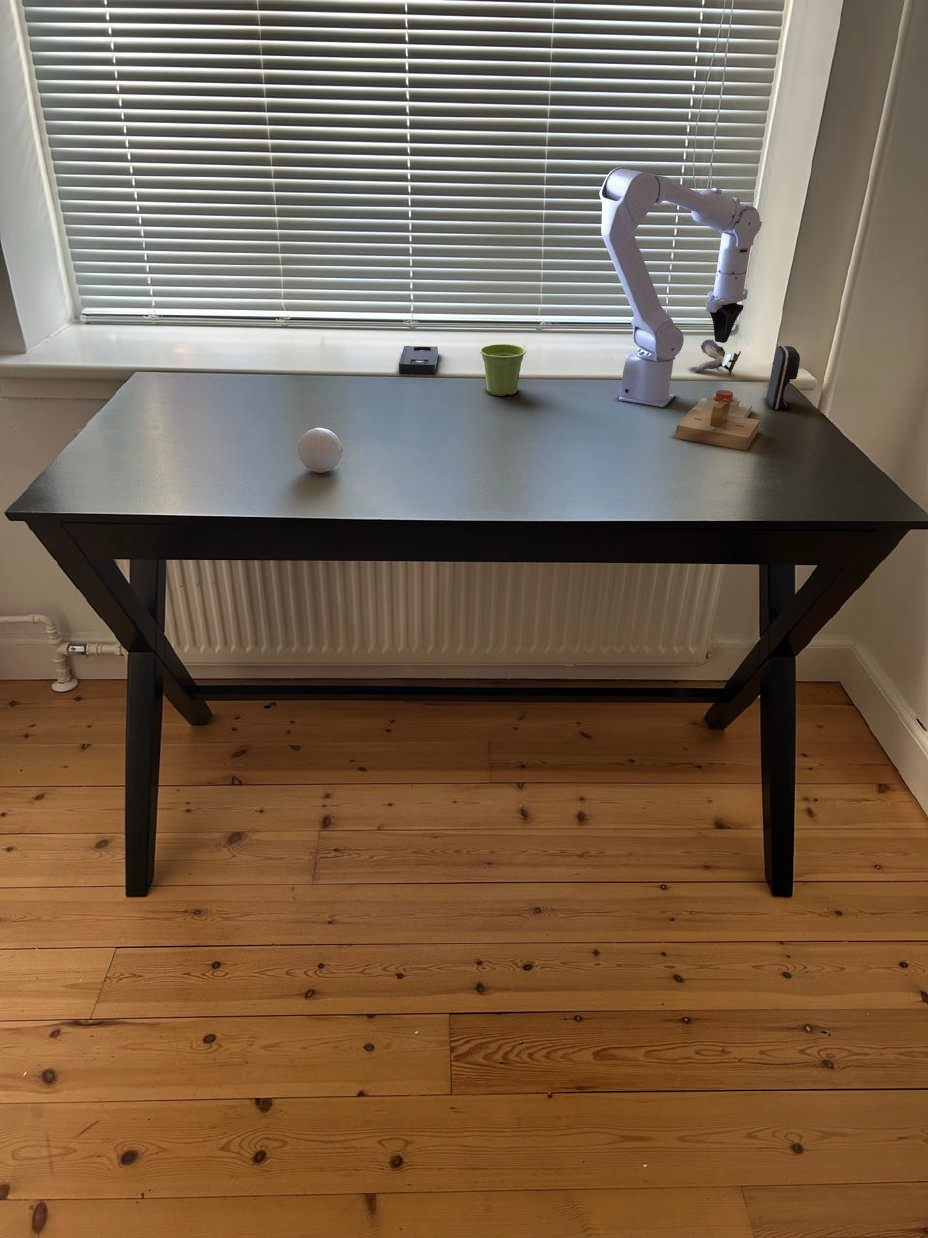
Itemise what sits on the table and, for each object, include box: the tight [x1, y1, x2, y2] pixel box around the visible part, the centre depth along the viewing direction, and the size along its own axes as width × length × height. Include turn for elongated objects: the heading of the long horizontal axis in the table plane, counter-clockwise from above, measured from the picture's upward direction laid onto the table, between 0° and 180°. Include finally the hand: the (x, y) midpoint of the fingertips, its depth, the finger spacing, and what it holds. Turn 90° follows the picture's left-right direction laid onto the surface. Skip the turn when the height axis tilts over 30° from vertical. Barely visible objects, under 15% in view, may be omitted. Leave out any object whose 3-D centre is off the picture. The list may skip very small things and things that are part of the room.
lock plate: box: [674, 408, 761, 451], centre depth 163 cm, size 13×10×3 cm
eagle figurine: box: [691, 339, 742, 376], centre depth 195 cm, size 8×7×9 cm
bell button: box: [715, 389, 734, 402], centre depth 172 cm, size 3×3×2 cm
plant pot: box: [479, 343, 527, 397], centre depth 182 cm, size 9×9×9 cm
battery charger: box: [765, 345, 801, 410], centre depth 175 cm, size 7×4×11 cm, turn 174°
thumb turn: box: [710, 398, 731, 427], centre depth 161 cm, size 5×1×4 cm, turn 144°
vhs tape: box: [398, 345, 439, 374], centre depth 200 cm, size 14×8×2 cm, turn 179°
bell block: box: [692, 394, 753, 418], centre depth 173 cm, size 10×8×3 cm
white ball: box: [297, 427, 344, 474], centre depth 148 cm, size 10×7×7 cm
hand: (720, 341), depth 180 cm, fingers closed
